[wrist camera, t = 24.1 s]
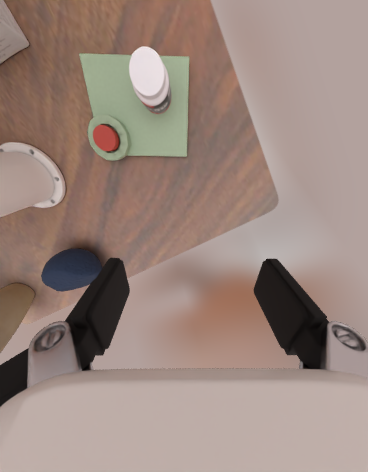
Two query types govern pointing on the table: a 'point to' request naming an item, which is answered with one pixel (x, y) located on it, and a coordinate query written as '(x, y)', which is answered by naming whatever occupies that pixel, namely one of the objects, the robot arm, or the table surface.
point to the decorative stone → (71, 269)
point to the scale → (136, 107)
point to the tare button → (105, 138)
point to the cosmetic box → (10, 34)
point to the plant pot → (13, 309)
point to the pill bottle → (150, 80)
